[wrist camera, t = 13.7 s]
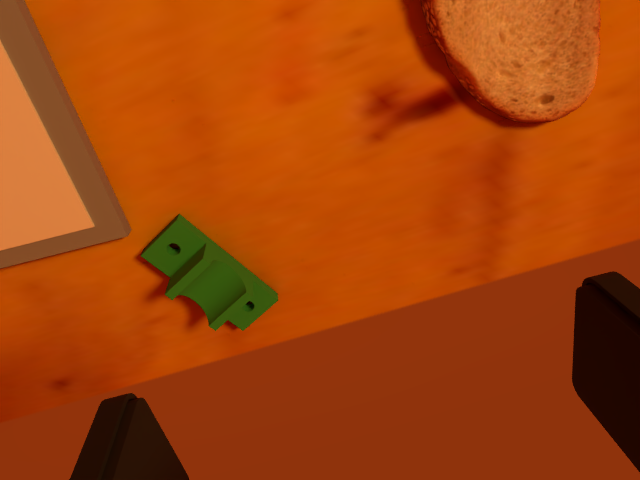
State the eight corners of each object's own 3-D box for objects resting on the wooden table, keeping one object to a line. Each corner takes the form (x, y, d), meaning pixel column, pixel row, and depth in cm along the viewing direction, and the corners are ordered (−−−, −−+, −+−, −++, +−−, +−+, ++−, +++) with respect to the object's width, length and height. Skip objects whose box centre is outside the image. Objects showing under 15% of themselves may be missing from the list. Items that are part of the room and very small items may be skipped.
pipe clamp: (280, 317, 39) (242, 350, 40) (278, 292, 42) (243, 323, 43) (171, 233, 34) (131, 273, 35) (178, 213, 38) (142, 250, 39)
